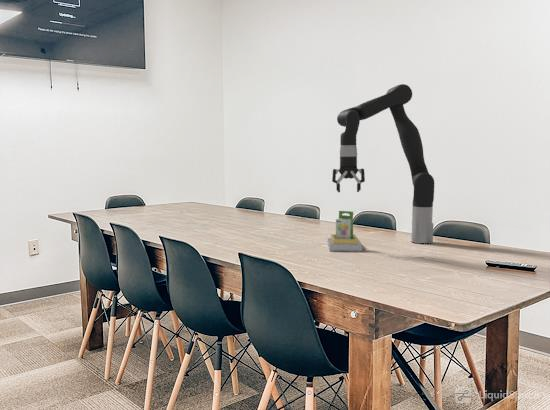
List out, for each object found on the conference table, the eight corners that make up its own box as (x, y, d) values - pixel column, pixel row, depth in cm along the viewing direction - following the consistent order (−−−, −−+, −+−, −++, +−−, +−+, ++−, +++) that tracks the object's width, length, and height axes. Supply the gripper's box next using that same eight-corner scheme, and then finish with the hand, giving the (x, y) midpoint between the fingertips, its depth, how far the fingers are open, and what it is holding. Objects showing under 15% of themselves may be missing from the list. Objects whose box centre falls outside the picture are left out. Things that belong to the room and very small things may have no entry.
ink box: (335, 241, 241) (335, 211, 240) (338, 239, 245) (339, 210, 243) (350, 242, 238) (350, 212, 237) (353, 241, 242) (353, 211, 240)
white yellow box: (357, 246, 249) (358, 234, 249) (361, 253, 233) (362, 239, 233) (327, 246, 250) (327, 233, 249) (329, 252, 234) (329, 239, 233)
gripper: (363, 155, 243) (363, 191, 244) (331, 155, 243) (331, 191, 245) (365, 155, 235) (365, 192, 237) (333, 156, 236) (333, 192, 237)
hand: (348, 192), depth 241 cm, fingers open, 8 cm apart
